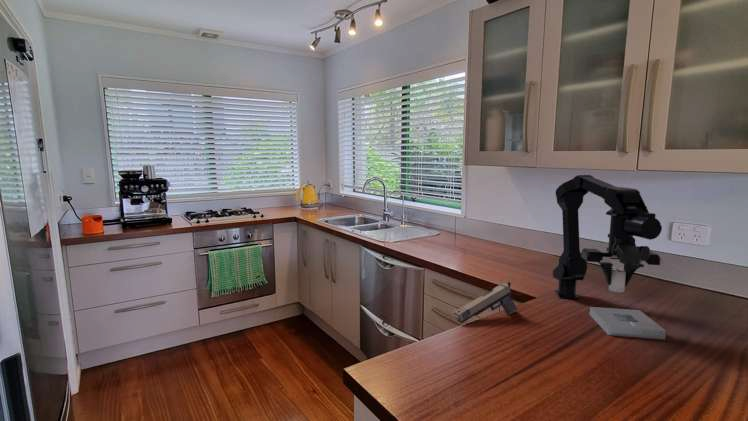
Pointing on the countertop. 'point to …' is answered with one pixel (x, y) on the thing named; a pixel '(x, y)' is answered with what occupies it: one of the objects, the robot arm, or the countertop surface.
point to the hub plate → (627, 323)
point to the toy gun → (488, 303)
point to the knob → (617, 280)
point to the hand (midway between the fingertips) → (616, 285)
